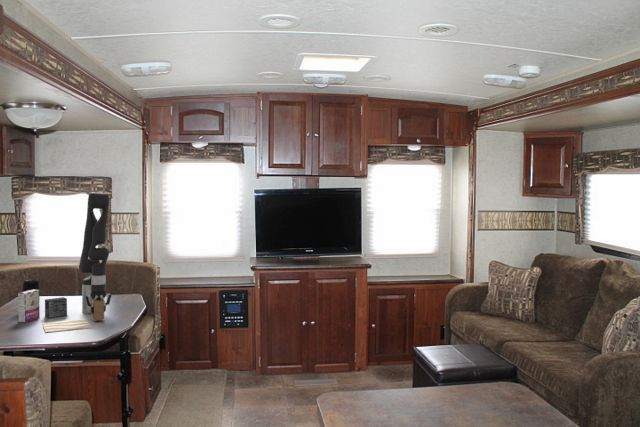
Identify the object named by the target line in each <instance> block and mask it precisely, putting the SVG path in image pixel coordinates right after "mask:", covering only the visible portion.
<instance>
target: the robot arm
mask: <svg viewBox="0 0 640 427" xmlns="http://www.w3.org/2000/svg"><path fill="white" fill-rule="evenodd" d="M109 206H110V197H109V194H108V193H105V192H93V191H92V192H89V193H88V198H87V208H86V212H87V213H86V222H85V227H84V232H83V243H82V250H81V251H82V252H81V253H80V260H79V271H80V273H82V274H90V273H91V274H90V275H89V276H87V277H85V278H84V279H82V282H81V284H82V289H81V290H82V292H81V301H82V302H81V307H82V308H81V313H82V314H88V315H89V314H92V315H93V313H94V300H104V313H105V312H106V311H107V310H106V309H107V306H108V305H110V304H111V303H110V301H111V298H112V294H111V293H107V292H106V289H107V286H106V285H107V284H106V283H107V279H106V278H107V277H106V267H107V266H106V265H107V262H108V258H109V257H110V256H109V255H110V250H109V249H108V248H107V247H97V246H101V245H104V244H106V241H107V240H106V238H107V235H106V234H107V232H106V231H107V222H108V215H109ZM94 209H95V210H96V209H99V210H102V212H101V215H100V216H99V218H98V219H97V218H96V217H97V216H96V215H95V213H94ZM100 261H101V262H100ZM105 297H106V298H107V299H106V301H105Z"/></svg>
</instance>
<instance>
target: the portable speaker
mask: <svg viewBox="0 0 640 427" xmlns="http://www.w3.org/2000/svg"><path fill="white" fill-rule="evenodd" d="M33 289H34V290H39V291H40V283H39V278H24V279H23V284H22V292H25V291H29V290H33Z"/></svg>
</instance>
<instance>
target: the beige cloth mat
mask: <svg viewBox="0 0 640 427" xmlns="http://www.w3.org/2000/svg"><path fill="white" fill-rule="evenodd" d="M42 327H43V330H44V333H45V334H48V333H47V332H50V333H58V332H66V331H67V332H68V331H77V330H78V331H79V330H87V329H92V326H91V325H90V323H89V322H88V320H87V319H86V318H82V319H74V320H73V319H72V320H63V321H62V320H61V321H53V322H52V321H51V322H43V323H42Z"/></svg>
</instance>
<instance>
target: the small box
mask: <svg viewBox="0 0 640 427" xmlns="http://www.w3.org/2000/svg"><path fill="white" fill-rule="evenodd" d="M44 317H45V318H47V319H55V318H62V317H68V298H66V297H65V296H62V297H53V298H46V299H44Z"/></svg>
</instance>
